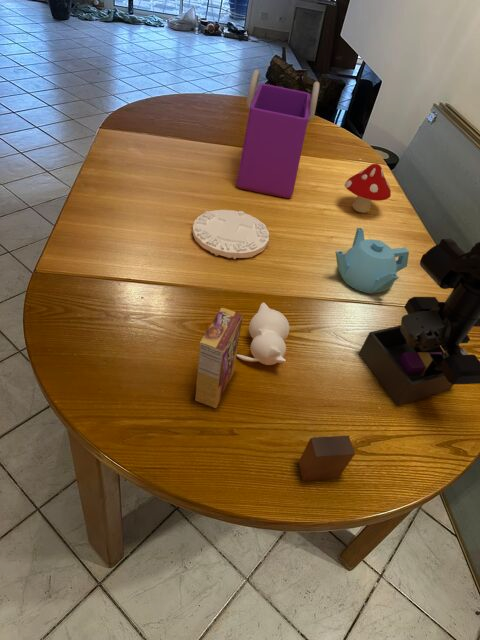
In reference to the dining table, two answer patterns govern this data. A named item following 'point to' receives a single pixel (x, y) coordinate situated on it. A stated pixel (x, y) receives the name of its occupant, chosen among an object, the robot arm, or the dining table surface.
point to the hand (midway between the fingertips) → (421, 367)
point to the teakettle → (370, 264)
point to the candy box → (217, 356)
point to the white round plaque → (230, 233)
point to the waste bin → (398, 367)
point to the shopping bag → (274, 137)
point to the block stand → (325, 458)
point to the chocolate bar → (416, 363)
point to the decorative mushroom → (368, 187)
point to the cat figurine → (268, 336)
